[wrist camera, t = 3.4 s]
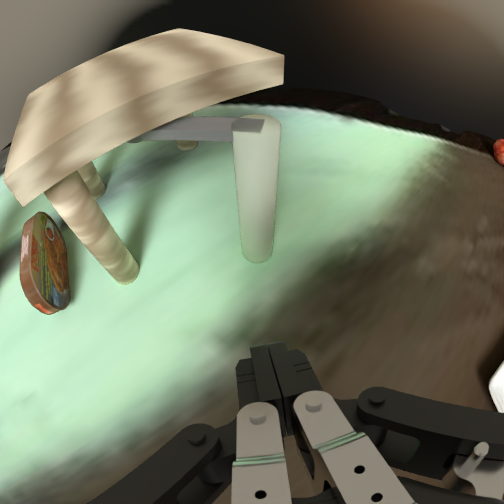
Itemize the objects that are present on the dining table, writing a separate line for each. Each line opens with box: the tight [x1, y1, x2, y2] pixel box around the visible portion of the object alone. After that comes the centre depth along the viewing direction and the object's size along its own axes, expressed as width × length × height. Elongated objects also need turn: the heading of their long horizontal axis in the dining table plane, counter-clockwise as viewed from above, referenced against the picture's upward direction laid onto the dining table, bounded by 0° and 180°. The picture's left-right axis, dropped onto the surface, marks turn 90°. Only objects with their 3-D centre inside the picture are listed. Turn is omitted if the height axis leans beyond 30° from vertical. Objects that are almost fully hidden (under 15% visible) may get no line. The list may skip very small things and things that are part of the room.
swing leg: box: [127, 114, 281, 263], centre depth 26 cm, size 13×4×17 cm, turn 80°
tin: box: [20, 212, 70, 315], centre depth 28 cm, size 15×3×8 cm, turn 26°
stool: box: [3, 28, 284, 285], centre depth 30 cm, size 24×24×21 cm
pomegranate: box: [494, 139, 504, 166], centre depth 44 cm, size 7×7×10 cm
